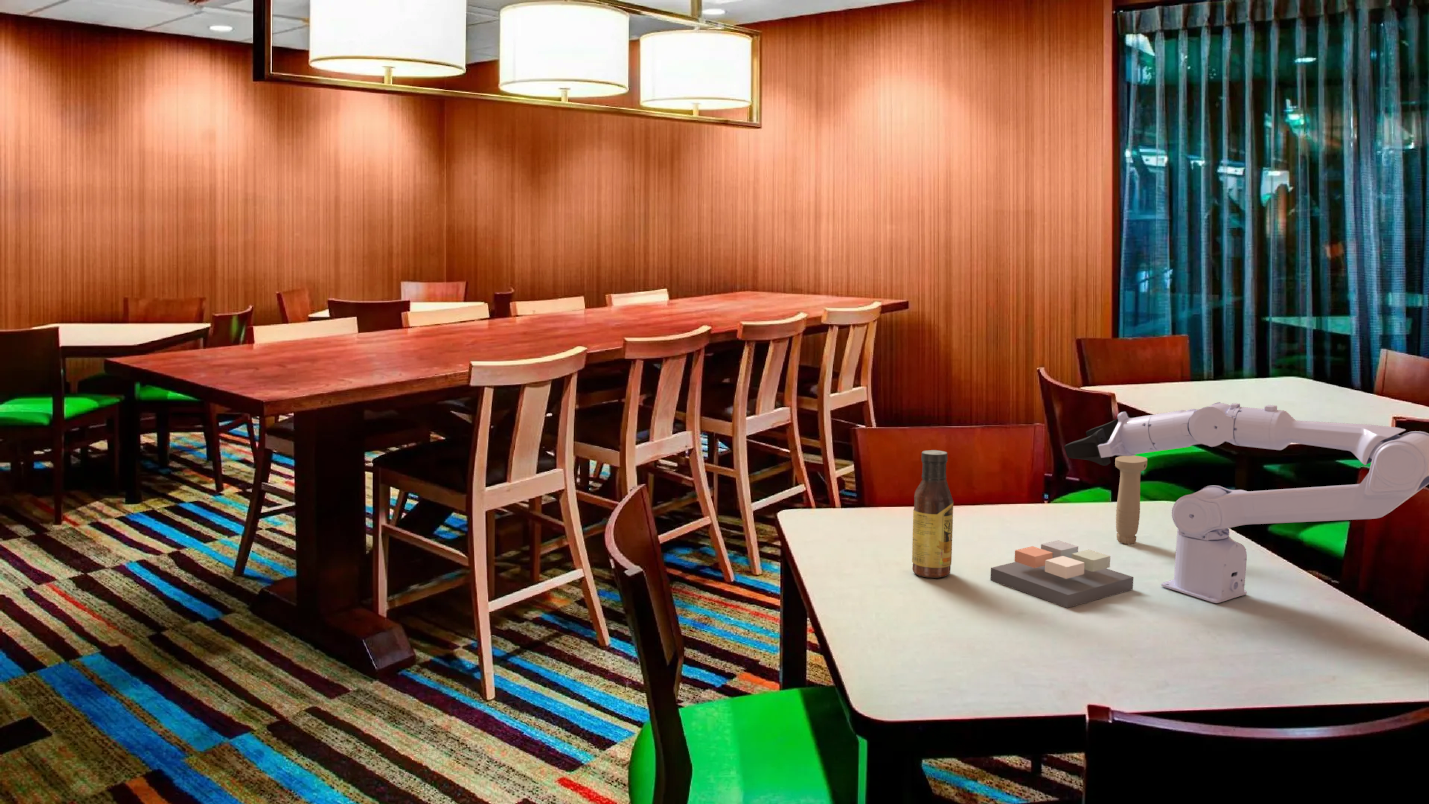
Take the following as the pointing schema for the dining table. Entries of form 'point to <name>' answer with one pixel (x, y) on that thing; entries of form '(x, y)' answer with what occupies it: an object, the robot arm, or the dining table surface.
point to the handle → (1128, 497)
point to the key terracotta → (1032, 556)
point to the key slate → (1060, 548)
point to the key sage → (1092, 560)
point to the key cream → (1064, 567)
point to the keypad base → (1062, 583)
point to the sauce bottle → (932, 518)
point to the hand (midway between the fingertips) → (1077, 444)
